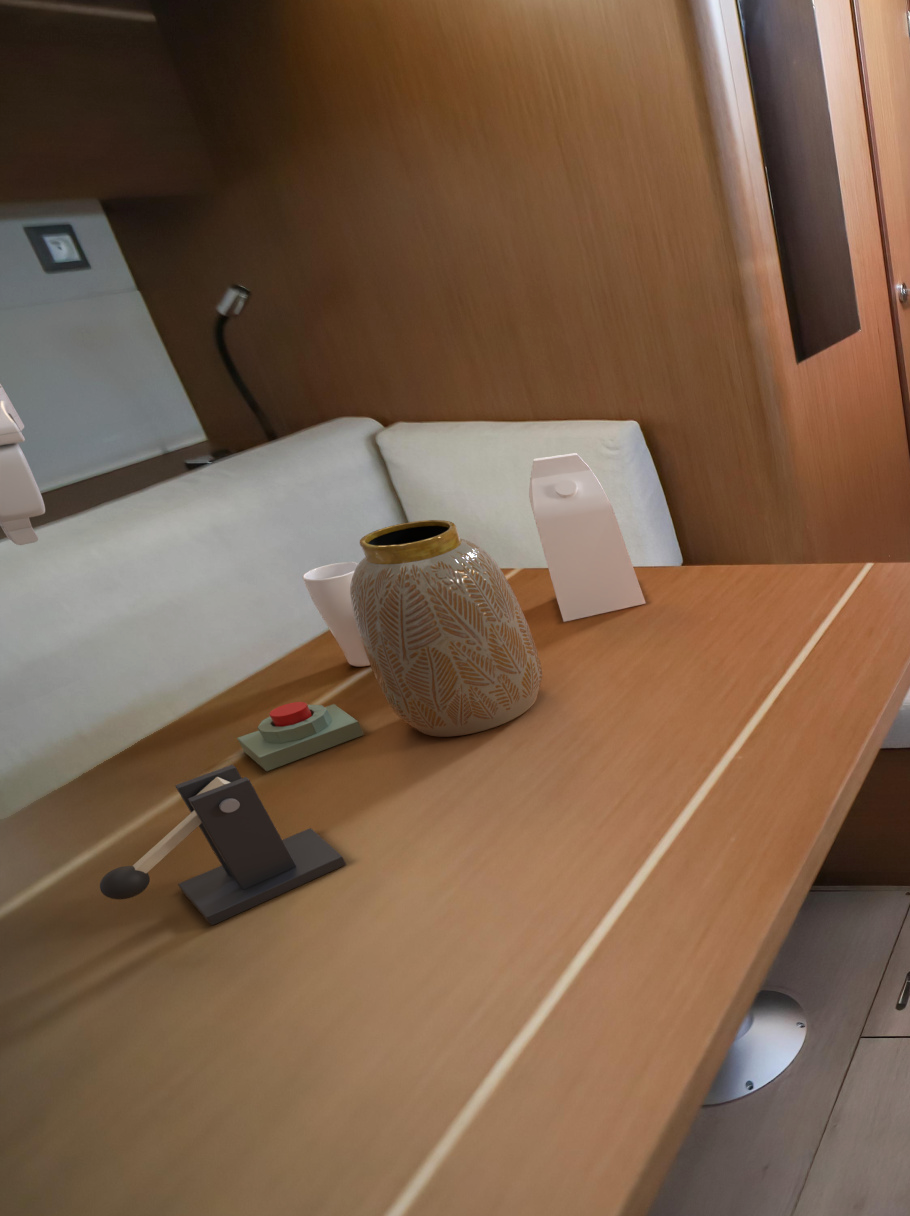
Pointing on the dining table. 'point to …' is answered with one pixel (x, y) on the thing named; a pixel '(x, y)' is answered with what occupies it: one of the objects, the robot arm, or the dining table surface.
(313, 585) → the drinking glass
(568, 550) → the milk
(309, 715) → the power button
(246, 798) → the lever on stand
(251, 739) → the green button base
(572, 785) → the dining table surface
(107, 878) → the lever switch
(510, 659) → the vase
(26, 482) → the robot arm
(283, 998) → the dining table surface
